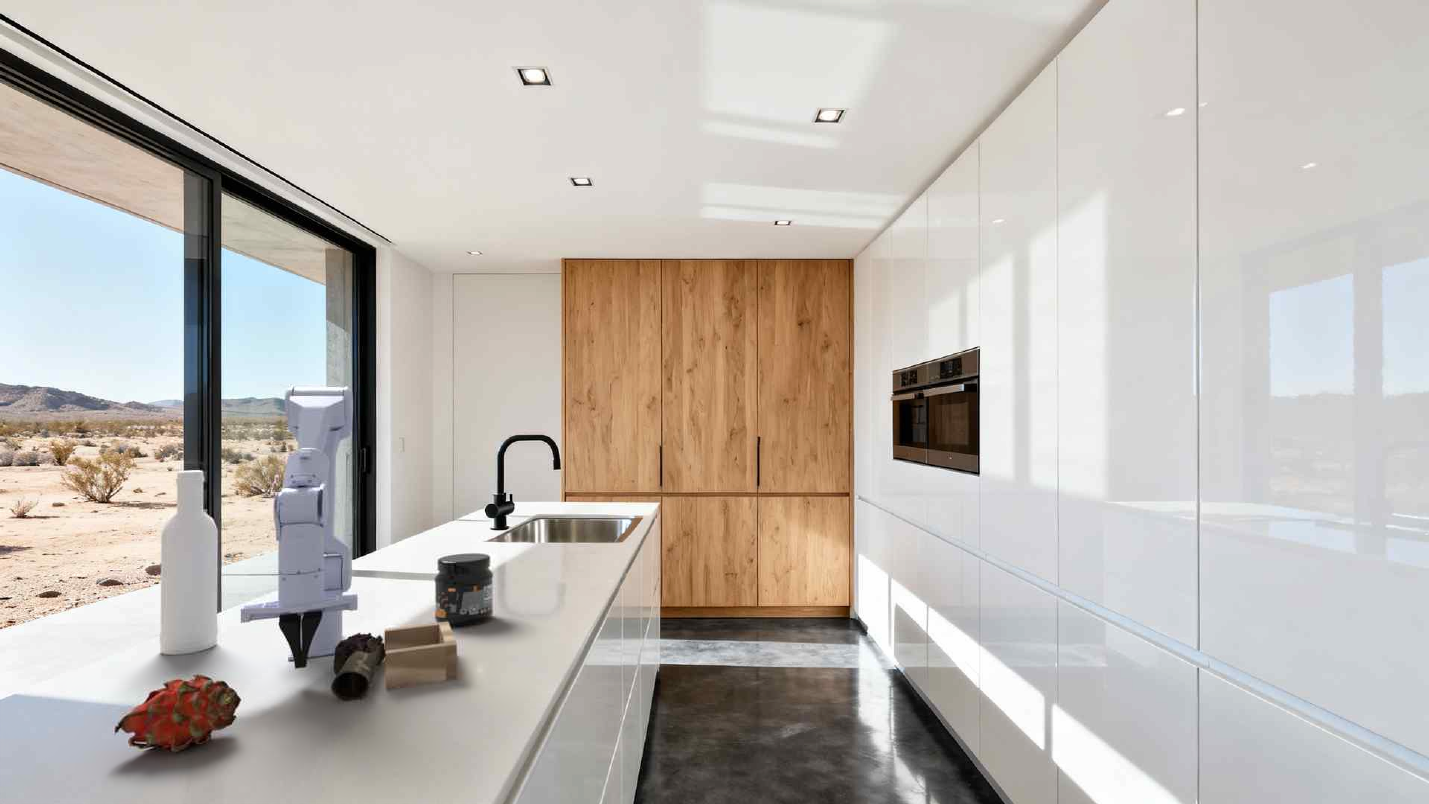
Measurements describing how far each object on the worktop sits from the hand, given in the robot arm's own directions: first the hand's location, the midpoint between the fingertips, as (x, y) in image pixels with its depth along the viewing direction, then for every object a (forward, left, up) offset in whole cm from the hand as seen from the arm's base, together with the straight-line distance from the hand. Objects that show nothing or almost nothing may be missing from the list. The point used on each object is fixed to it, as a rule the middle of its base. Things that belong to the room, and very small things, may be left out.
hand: (301, 666), depth 104 cm
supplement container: (-26, +25, -3) cm, 36 cm away
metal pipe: (0, +7, -3) cm, 8 cm away
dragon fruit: (+16, -11, -3) cm, 20 cm away
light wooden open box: (0, +15, -3) cm, 15 cm away
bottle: (-30, -19, -3) cm, 36 cm away
